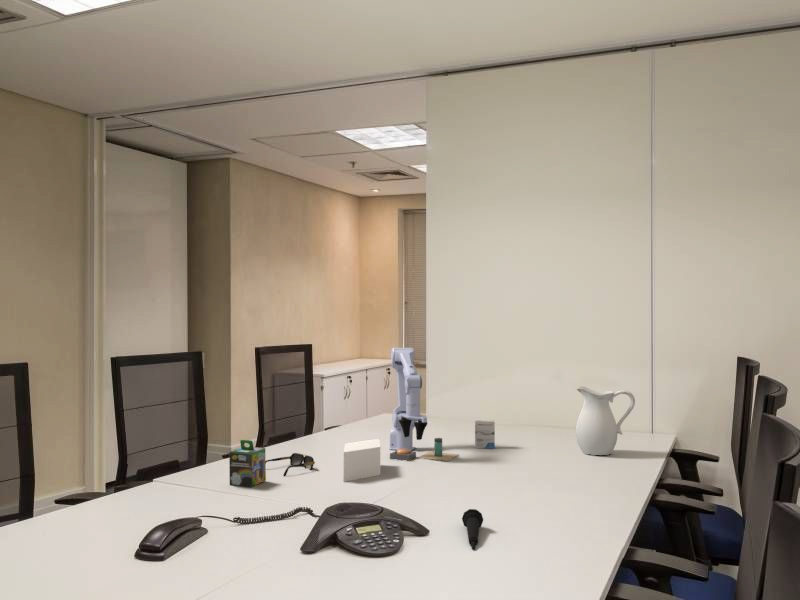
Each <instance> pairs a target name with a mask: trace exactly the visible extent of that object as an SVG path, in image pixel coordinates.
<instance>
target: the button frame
mask: <svg viewBox="0 0 800 600" xmlns="http://www.w3.org/2000/svg"><path fill="white" fill-rule="evenodd" d="M414 457H415V458H417V452H416V451H414V450H413V451H412V450H410V451H409V454H407V455H405V454H397V450H394V451H392V452H390V453H389V460H394V459H397V460H396V461H403V460H407V461H406V462H409V461H411V460H413V459H415V458H414ZM412 458H413V459H412ZM410 459H411V460H410Z"/></svg>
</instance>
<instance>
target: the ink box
mask: <svg viewBox="0 0 800 600" xmlns="http://www.w3.org/2000/svg"><path fill="white" fill-rule="evenodd" d="M474 423H475V425H474V448H475V449H493V448H494V449H495V448H496V447H495V445H496V444H495V442H496V441H495V439H496V437H495V432H496V431H495V426H496V425H495V420H490V419H489V420H487V419H486V420H483V419H482V420H481V419H475V421H474Z"/></svg>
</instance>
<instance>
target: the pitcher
mask: <svg viewBox="0 0 800 600" xmlns="http://www.w3.org/2000/svg"><path fill="white" fill-rule="evenodd" d="M576 390H577V392H579V393H580V394H581V395H582V397H583V404H582V408H581V410H580V413H579V415H578V417H577V421H576V426H575V438H576V443H577V444H578V447H579V449H580V451H581V452H582V453H583V454H584V453H585V454H584V455H587V454H591V455H590V456H592V455H607V456H610V455H611V454H612V452H614V449H615V447H616V444H617V442H618V434H619V435H623V432H622V430H621V427H622V424H623V422H624V421H625V420H626V419H627V417H628V416H629V415H630V414H631V412H632V411H633V410H634V407H635V404H636V400H635V395H634V394H633V393H632V392H631V391H629V390H626V389H621V390H618V391H616V392H615V391H611V390H607V391H596V390H593V389H591V388H589V387H587V386H579V387H577V388H576ZM619 395H626V396H628V397H629V398H630V405H629V407H628V409H627V411H626V412H625V413H624V414H623V415H622V417H621V418H620V419H619V420H618V422H617V423H616V419H615V416H614V414H613V412H612V409H611V405H610V403H611V404H612V403H613V402H614V398H616V397H617V396H619ZM609 454H610V455H609Z"/></svg>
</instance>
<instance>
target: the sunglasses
mask: <svg viewBox="0 0 800 600" xmlns="http://www.w3.org/2000/svg"><path fill="white" fill-rule="evenodd" d="M283 460H284V461H285V460H289V464H290V465H289V466H287V468H286V469H285V470H284V473H283V477H287V473H288V471H289V470H290V468H299V467H303V468H304V469H308V470H309V471H312V470H313V469H314V465H315V464H316V463H315V462H316V461H315V460H314V458H313V456H311V455H307V454H303V453H298V452H293V453H291V455H290V456H283V457H277V458H271V459H265V462H266V463H269V462H275V461H283Z"/></svg>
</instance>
